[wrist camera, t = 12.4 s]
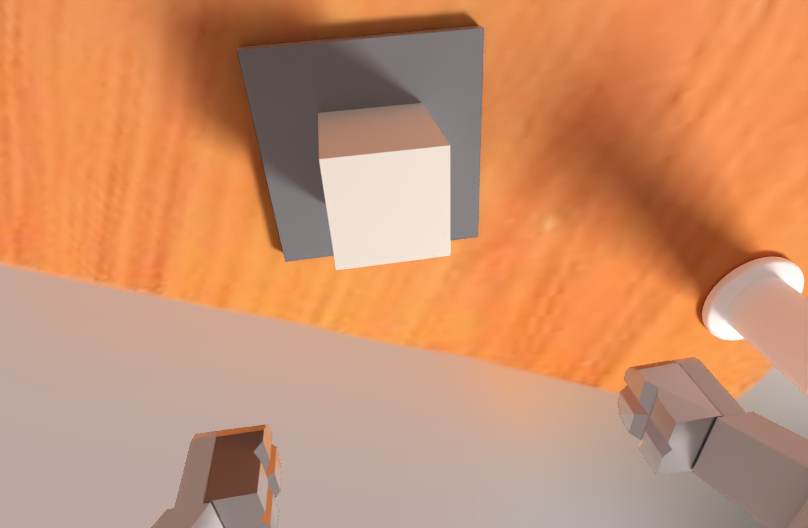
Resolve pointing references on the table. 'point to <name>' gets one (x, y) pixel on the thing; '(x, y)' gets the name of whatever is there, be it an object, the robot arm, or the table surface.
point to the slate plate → (356, 89)
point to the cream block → (385, 184)
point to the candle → (764, 313)
